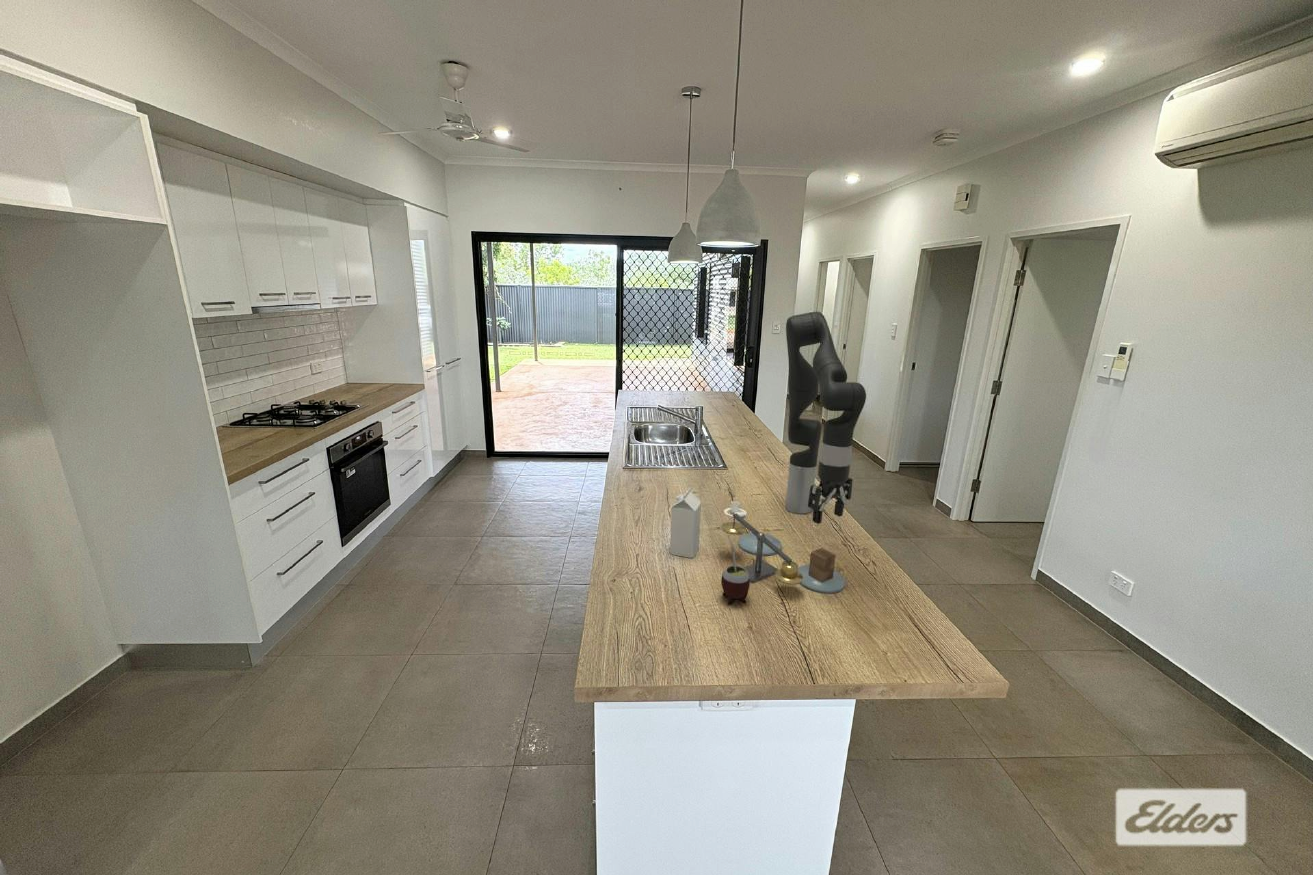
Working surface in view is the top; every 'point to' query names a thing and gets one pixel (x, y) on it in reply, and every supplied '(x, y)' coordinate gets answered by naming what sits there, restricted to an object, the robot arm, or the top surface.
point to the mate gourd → (735, 581)
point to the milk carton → (685, 525)
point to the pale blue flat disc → (750, 544)
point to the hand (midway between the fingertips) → (827, 518)
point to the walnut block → (821, 565)
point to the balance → (761, 568)
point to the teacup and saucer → (735, 509)
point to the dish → (826, 587)
